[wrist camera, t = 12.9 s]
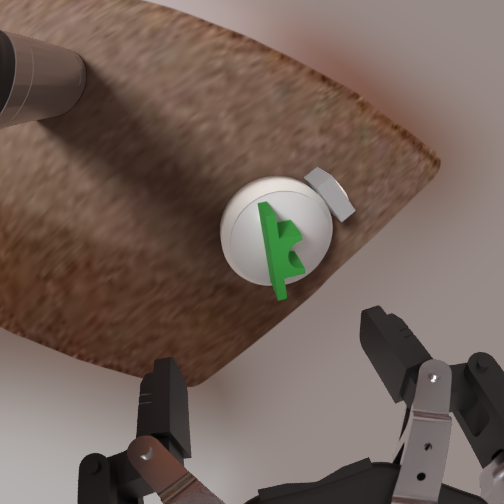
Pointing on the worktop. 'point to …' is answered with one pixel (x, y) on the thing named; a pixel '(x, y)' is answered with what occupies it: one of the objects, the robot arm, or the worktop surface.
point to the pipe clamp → (279, 249)
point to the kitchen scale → (286, 208)
